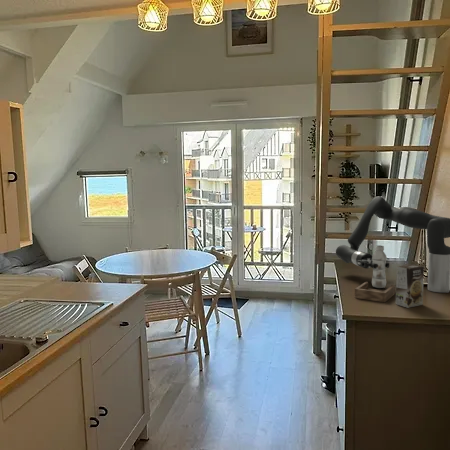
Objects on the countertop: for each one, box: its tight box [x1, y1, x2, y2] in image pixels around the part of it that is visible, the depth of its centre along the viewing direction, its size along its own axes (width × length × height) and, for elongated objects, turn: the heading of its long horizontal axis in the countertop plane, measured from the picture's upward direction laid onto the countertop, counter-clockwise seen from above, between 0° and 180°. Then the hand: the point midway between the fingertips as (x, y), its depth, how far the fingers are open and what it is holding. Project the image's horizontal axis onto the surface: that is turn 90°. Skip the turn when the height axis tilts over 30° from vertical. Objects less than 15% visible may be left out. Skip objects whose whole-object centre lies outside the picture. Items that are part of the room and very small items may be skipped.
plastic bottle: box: [371, 245, 388, 289], centre depth 204 cm, size 6×7×20 cm
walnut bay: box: [354, 281, 396, 303], centre depth 191 cm, size 13×15×4 cm
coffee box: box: [395, 263, 425, 309], centre depth 177 cm, size 9×6×16 cm
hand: (382, 265), depth 201 cm, fingers closed on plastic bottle, 6 cm apart
